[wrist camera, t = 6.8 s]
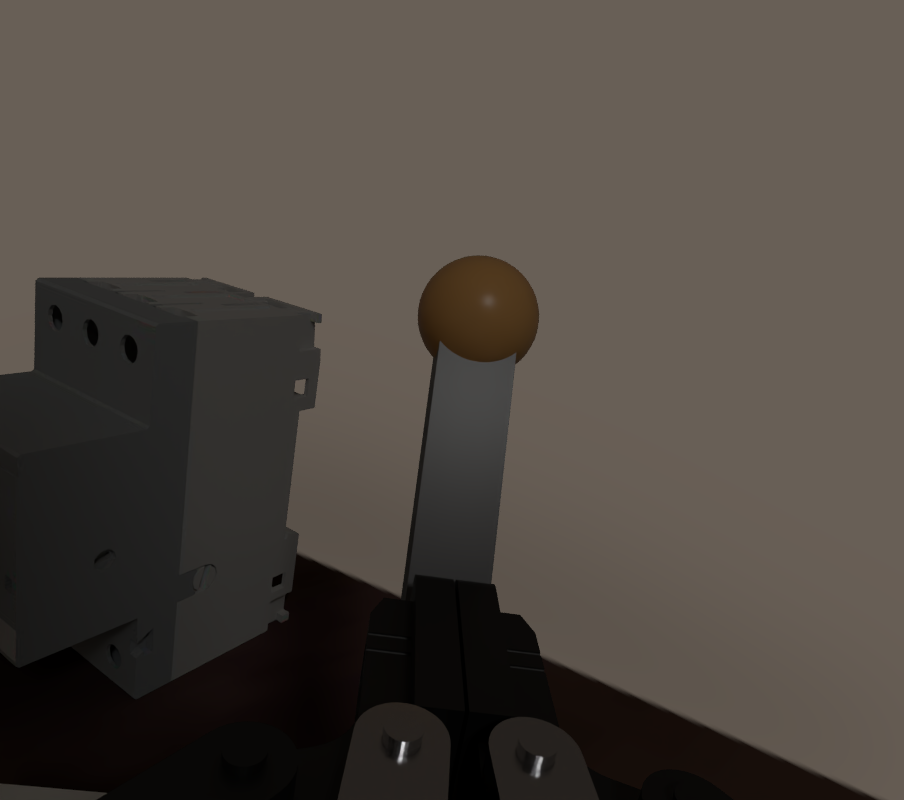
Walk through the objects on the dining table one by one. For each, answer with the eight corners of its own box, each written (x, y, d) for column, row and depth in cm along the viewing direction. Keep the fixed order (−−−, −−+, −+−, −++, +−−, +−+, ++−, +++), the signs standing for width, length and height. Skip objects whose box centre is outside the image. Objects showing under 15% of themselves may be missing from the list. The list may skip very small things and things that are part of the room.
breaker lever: (307, 1126, 11) (432, 225, 15) (315, 1020, 14) (420, 272, 17) (470, 1134, 12) (558, 247, 15) (449, 1028, 14) (529, 290, 17)
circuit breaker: (-138, 679, 27) (-163, 277, 23) (188, 557, 39) (210, 277, 35) (-41, 792, 23) (-49, 335, 19) (288, 619, 35) (325, 313, 31)
